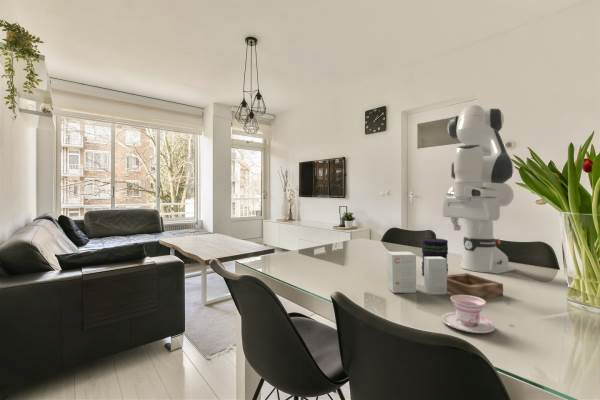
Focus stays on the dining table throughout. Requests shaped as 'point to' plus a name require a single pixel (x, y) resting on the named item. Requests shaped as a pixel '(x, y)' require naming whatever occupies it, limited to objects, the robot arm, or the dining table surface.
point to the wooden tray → (473, 286)
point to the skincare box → (435, 275)
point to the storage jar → (434, 249)
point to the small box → (402, 272)
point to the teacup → (468, 315)
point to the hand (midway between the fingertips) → (468, 232)
